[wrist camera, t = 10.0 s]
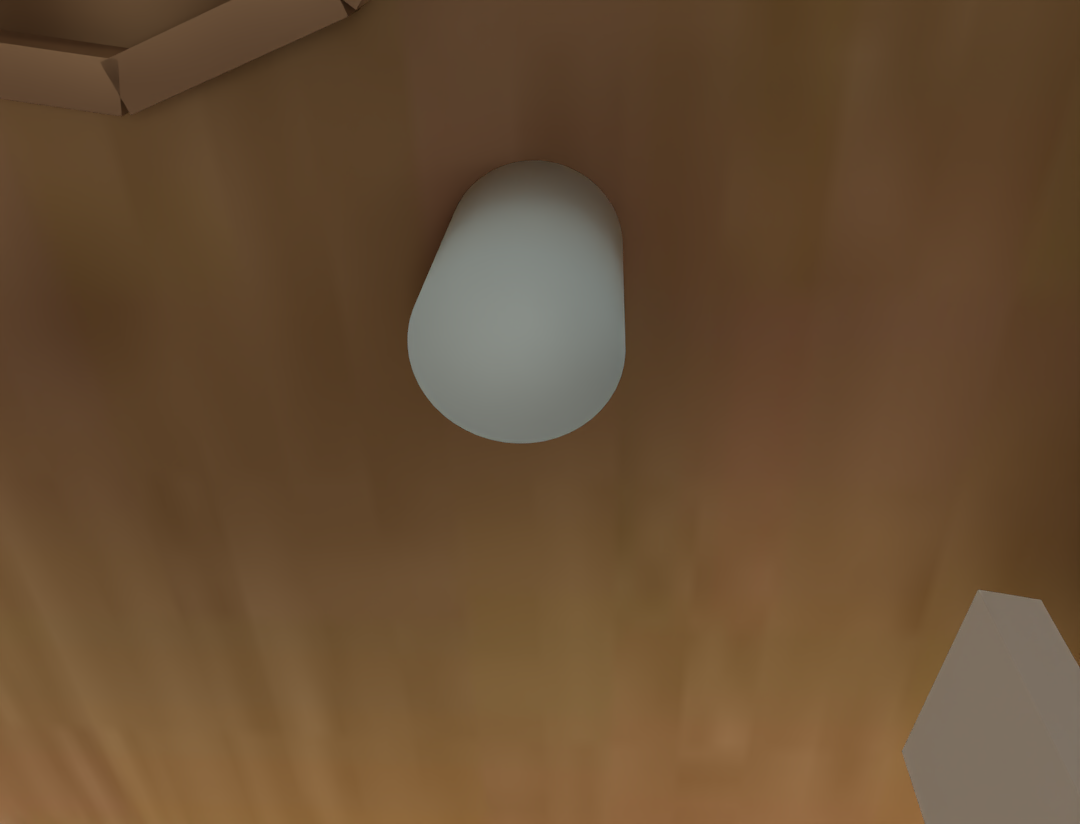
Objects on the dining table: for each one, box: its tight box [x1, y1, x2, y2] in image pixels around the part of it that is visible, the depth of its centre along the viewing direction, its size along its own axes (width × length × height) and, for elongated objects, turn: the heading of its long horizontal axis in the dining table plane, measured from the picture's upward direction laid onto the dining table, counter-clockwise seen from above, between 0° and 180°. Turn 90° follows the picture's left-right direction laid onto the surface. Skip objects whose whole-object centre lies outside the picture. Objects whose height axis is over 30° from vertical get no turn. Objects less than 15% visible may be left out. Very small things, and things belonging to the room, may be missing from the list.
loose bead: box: [408, 160, 626, 443], centre depth 23 cm, size 4×4×6 cm
